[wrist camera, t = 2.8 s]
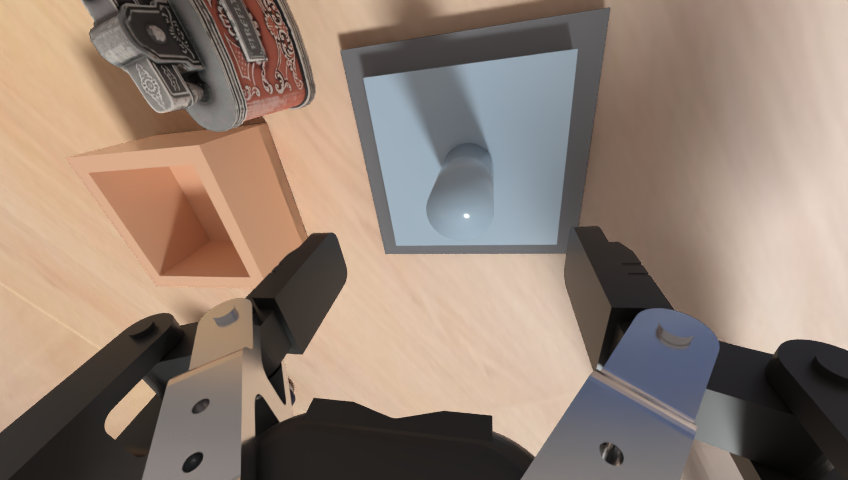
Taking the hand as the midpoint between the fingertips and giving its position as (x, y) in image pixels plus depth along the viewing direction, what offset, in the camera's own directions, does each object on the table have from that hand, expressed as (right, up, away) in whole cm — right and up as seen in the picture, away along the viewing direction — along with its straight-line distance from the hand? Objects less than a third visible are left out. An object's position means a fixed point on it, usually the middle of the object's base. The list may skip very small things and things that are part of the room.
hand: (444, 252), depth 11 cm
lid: (+2, +5, +9) cm, 11 cm away
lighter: (-10, +13, +8) cm, 18 cm away
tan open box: (-16, +4, +15) cm, 22 cm away
